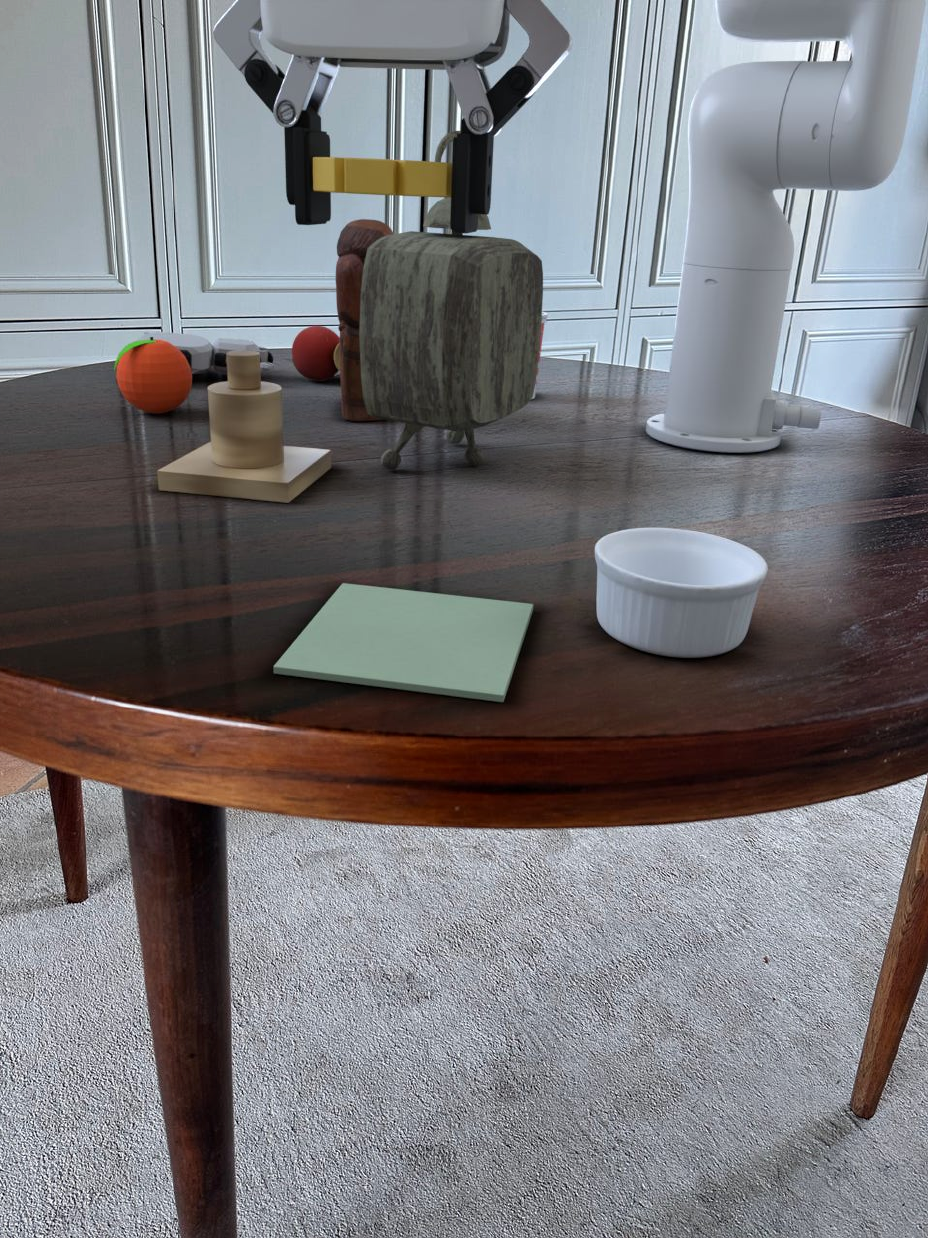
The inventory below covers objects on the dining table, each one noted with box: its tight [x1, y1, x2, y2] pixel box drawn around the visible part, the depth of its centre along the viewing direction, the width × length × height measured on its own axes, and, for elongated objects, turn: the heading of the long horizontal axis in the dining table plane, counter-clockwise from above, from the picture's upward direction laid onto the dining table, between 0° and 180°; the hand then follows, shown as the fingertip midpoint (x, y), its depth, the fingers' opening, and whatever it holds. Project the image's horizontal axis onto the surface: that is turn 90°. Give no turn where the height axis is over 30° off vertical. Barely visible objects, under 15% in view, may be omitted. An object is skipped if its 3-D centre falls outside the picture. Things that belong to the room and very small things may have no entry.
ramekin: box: [594, 527, 769, 659], centre depth 52 cm, size 9×9×4 cm
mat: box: [273, 582, 534, 703], centre depth 51 cm, size 11×11×1 cm
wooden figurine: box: [335, 218, 395, 422], centre depth 97 cm, size 12×6×18 cm, turn 3°
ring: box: [313, 156, 452, 198], centre depth 45 cm, size 7×7×1 cm
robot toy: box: [136, 331, 275, 376], centre depth 112 cm, size 12×4×15 cm
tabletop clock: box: [359, 130, 544, 471], centre depth 78 cm, size 14×9×25 cm, turn 152°
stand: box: [156, 350, 332, 504], centre depth 74 cm, size 10×10×10 cm
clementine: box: [113, 337, 193, 415], centre depth 94 cm, size 8×7×7 cm
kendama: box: [291, 325, 340, 382], centre depth 114 cm, size 8×6×18 cm
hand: (388, 224), depth 46 cm, fingers closed on ring, 6 cm apart
